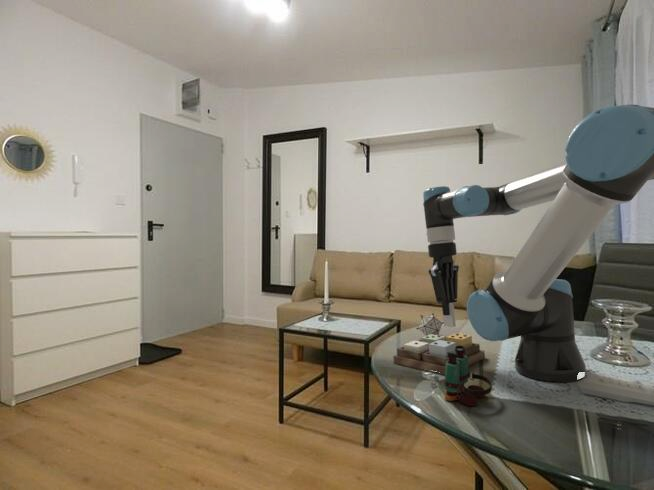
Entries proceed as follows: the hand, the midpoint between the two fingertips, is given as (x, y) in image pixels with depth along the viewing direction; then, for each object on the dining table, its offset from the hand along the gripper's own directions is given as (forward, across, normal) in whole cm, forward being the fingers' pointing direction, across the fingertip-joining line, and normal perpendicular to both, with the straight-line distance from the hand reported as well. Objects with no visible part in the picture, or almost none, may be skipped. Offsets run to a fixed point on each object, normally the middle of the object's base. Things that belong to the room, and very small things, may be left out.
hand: (449, 326), depth 107 cm
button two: (+6, +6, 0) cm, 9 cm away
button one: (+7, +5, -8) cm, 12 cm away
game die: (+9, -20, -19) cm, 28 cm away
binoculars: (+11, +20, +14) cm, 27 cm away
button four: (+6, -3, +1) cm, 7 cm away
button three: (+7, -3, -8) cm, 11 cm away
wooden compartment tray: (+10, +1, -4) cm, 10 cm away
